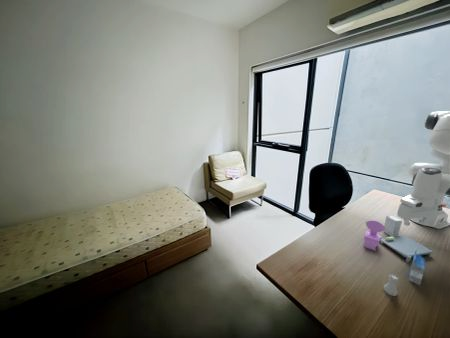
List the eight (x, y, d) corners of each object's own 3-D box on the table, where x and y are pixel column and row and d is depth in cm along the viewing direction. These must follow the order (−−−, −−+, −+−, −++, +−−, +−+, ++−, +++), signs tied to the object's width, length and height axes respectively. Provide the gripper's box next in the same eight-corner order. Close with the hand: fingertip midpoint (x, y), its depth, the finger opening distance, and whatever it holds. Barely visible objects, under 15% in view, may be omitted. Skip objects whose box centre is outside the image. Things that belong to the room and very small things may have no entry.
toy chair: (359, 247, 104) (365, 223, 100) (362, 239, 110) (367, 217, 106) (378, 254, 99) (385, 229, 95) (380, 245, 105) (386, 222, 101)
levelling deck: (403, 236, 108) (404, 232, 107) (432, 253, 95) (434, 248, 94) (379, 240, 106) (380, 236, 105) (405, 258, 93) (407, 253, 92)
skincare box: (398, 238, 111) (403, 220, 107) (391, 239, 110) (396, 221, 107) (387, 232, 117) (392, 215, 113) (381, 233, 116) (386, 215, 113)
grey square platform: (400, 239, 110) (402, 233, 109) (434, 259, 95) (436, 253, 94) (376, 242, 107) (377, 237, 106) (406, 263, 92) (408, 257, 91)
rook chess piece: (380, 287, 80) (384, 272, 78) (389, 286, 80) (394, 271, 78) (389, 297, 76) (394, 281, 74) (399, 296, 76) (405, 280, 74)
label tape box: (420, 286, 80) (428, 263, 77) (407, 280, 83) (414, 257, 80) (420, 274, 86) (428, 252, 83) (408, 269, 89) (416, 247, 86)
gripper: (430, 195, 97) (423, 218, 101) (397, 199, 94) (391, 222, 98) (446, 200, 91) (437, 224, 95) (411, 205, 88) (404, 229, 92)
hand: (413, 223), depth 97 cm, fingers open, 8 cm apart
